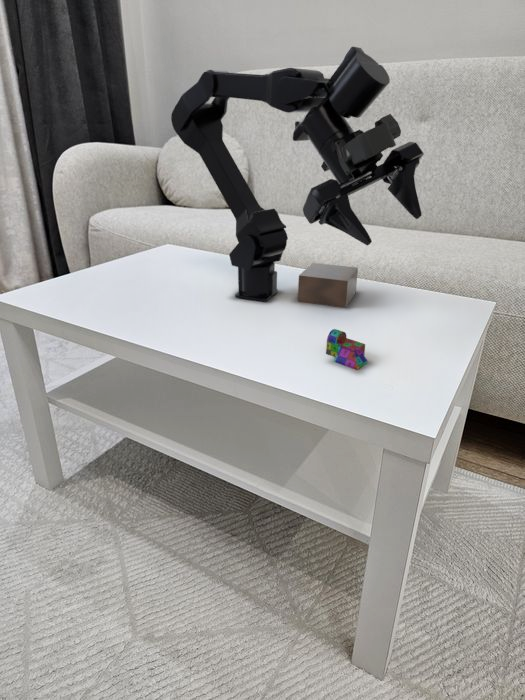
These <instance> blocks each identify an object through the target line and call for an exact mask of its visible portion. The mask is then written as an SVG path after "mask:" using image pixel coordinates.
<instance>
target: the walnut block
mask: <svg viewBox="0 0 525 700" xmlns="http://www.w3.org/2000/svg"><path fill="white" fill-rule="evenodd" d="M358 271H359V267H358V266H357V267H356V266H347V265H337V264H328V263H319V262H312V263H310V264H309V266H307V267H306V268H305V269H304V270H303V271H302V272H301V273H300V274H299V275H298V285H297V287H298V289H297V302H300V303H307V304H308V303H309V304H315V305H323V306H330V307H337V308H345V309H346V308H347V306H348V305H349V303H350V301H351V300H352V298H353V297H354V296H355V294H356V293H357V282H358Z"/></svg>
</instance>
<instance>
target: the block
mask: <svg viewBox="0 0 525 700" xmlns="http://www.w3.org/2000/svg"><path fill="white" fill-rule="evenodd" d="M325 346H326V347H325V355H328V356H331V357H334V361H333V362H334V363H337V364H340V365H342V366H344V367H347V368H351V369H353V370H356V371H358V370H359V369H361V368H363V367H364V366H366V365H367V364H368V362H369V361H368V359H367V358H366V356H365V351H366V344H365V343H363V342H360V341H357V340H354V339H350V338H348V337H347V333H346V331H343V330H339V329H337V328H333V329H331V330H330V331H329V333H328V335H327V338H326V345H325Z"/></svg>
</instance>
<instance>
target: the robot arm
mask: <svg viewBox="0 0 525 700" xmlns="http://www.w3.org/2000/svg"><path fill="white" fill-rule="evenodd" d="M390 81H391V79H390V76H389V74H388V72H387V69H385V67H384V66H383V64H379V63H378V62H377V61H376V59H374V58H373V57H371V56H370V55H369V54H367V53H365V52H364V50H363V49H362V47H358V46H350V48H349V50H348V51H347V53H345V56H344V58H343V60H342V61H341V63H340V64H339V66H338V67H337V68H336V70H335V71H334V72H333V73H332V75H331V76H330V77H329V78H326V77H325V76H324V73H323V72H321V71H320V70H318V69H317V70H316V69H307V68H297V67H285V68H280V69H275V70H272V71H271V72H269V73H265V74H253V73H239V72H238V73H237V72H229V71H227V70H220V69H219V70H217V69H207V70H205V71H204V72H203V73H202V74H201V75H200V77H199V79H198V80H197V82H195V83H194V84H193V86H191V87H190V88H188V90H186V91H185V92H184V93H182V95H181V96H180V98H179V99H178V101H177V103H176V104H175V106H174V108H173V110H172V112H171V114H170V115H171V116H170V119H171V120H170V121H171V125H172V129H173V130H174V132H175V133H176V135H177V136H178V137H179V139H180V140H181V141H182V143H183V144H184V145H186V146H187V147H188V148H189V149H191V150H193V151H194V152H196V154H198V155H199V156H200V158H201V160H202V162H203V163H204V165H205V167H206V169H207V170H208V172H209V175H210V176H211V177H212V179H213V181H214V184H215V186H216V187H217V189H218V190H219V192H220V193H221V196H222V198H223V199H224V201H225V203H226V204H227V206H228V208H229V209H230V212H231V214H232V215H233V217H234V219H235V238H236V240H237V244H236V246H234V248H233V249H232V250H231V251H230V252H229V255H228V256H229V260H230V264H231V266H233V267H236V268H237V284H238V285H237V287H238V291H237V292H236V293H235V294H234V298H238V299H245V300H253V301H260V302H268V300H270V299H271V298H272V297H273V296H274V295H275V294H276V293H278V272H277V270H275V267H276V266H275V265H276V262H281V260H282V257H283V253H284V251H285V250H286V247H287V243H288V239H289V238H288V237H289V236H288V233H287V231H286V230H285V229H287V225H285V224H284V222H283V221H282V220H281V218H280V215H279V213H278V211H277V210H276V209H275V208H269V209H264V208H263V207H262V206H261V205H260V203H259V202H258V200H257V198H256V197H255V195H254V193H253V191H252V190H251V188H250V186H249V185H248V182H247V181H246V179H245V177H244V176H243V174H242V171H241V170H240V169H239V167H238V164H237V163H236V161H235V160H234V158H233V156H232V154H231V153H230V151H229V149H228V147H227V146H226V143H225V142H224V138H223V137H224V125H223V121H222V120H223V118H224V117H225V116H226V114H227V111H228V102H229V99H231V98H232V99H240V100H249V101H259V102H263V103H265V104H267V105H268V106H269V107H271V108H274V109H276V110H279V111H281V112H283V113H287V114H289V113H290V114H291V113H292V114H293V113H294V114H298V113H299V114H304V113H305V114H306V115H304V117H303V119H302V120H300V121H299V120H296V121H295V122H294V130H293V133H292V141H294V142H303V141H304V142H306V141H309V142H310V143H311V144H312V146H313V148H314V149H315V150H316V152H317V154H318V155H319V156H320V158H321V159H322V164H321V169H322V170H323V172H324V173H325V172H328V171H330V173H331V174H332V176H333V177H334V179H333V178H330V179H328V180H325V181H323V182H321V183H319V184H317V185H315V186H313V187H311V188H310V190H309V193H308V194H307V197H306V199H305V201H304V203H303V206H302V213H303V216H304V217H305V218H306V221H307V222H308V224H311V225H312V224H314V223H317V222H318V224H319V225H321V226H323V225H325V224H326V225H328V226H330V227H331V228H334V229H336V230H339V231H341V232H343V233H345V234H346V235H348V236H350V237H352V238H353V239H355V240H357V241H359V242H360V243H362V244H363V245H365V246H369V245H371V244H372V242H373V241H372V239H371V236H370V235H369V233H368V231H367V229H366V228H365V226H364V225H363V223H362V222H361V220H360V219H359V217H358V216H357V215H356V213H355V212H354V211H353V209H352V207H351V203H350V199H349V196H350V195H353V194H355V193H357V192H359V191H360V190H361V191H362V190H363V189H365V188H367V187H369V186H371V185H372V184H375V183H377V182H379V181H383V183H385V184H389V185H388V187H387V190H388V192H390V194H391V195H392V196H393V197H394V198H395V199H396V200H397V201H398V203H400V205H401V206H402V207H403V208H404V209H405V210H406V212H408V213H409V214H410V215H411V216H412V217H413V218H414V219H415V220H419V219H420V218H421V217H422V210H421V206H420V201H419V197H418V193H417V188H416V182H415V173H416V169H417V168H418V167H419V165H420V161H421V159H422V157H424V155H425V153H424V152H423V150H422V149H421V147H420V146H419V144H418V143H417V142H415V141H409V142H406V143H404V144H402V145H400V146H398V147H396V146H397V143H396V141H395V140H396V139H397V138H399V137H400V136H401V134H402V129H401V127H400V124H399V122H398V121H397V119H396V118H395V117H394V116H393V115H392V114H391V113H389V114H386V115H384V116H382V117H380V119H378V120H376V121H375V122H374V127H372V128H369V129H368V130H366V131H364V130H361V129H358V130H355V131H354V130H353V128H352V126H351V124H350V123H349V122H348V120H347V119H351V118H355V119H360V118H361V117H362V116H363V114H365V113H366V111H367V110H368V109H369V108H370V106H371V105H372V104H373V103H374V102H375V100H376V99H377V98H378V97H379V96H380V95H381V94H382V92H383V91H384V90H385V89H386V87H387V86H388V85H389V84H390ZM211 98H213V100H212V101H211V102H209V101H210V99H211ZM394 147H396V148H394ZM391 148H393V149H391ZM387 149H391V151H390V152H389V153H388V155H387V157H386V158H385V160H384V161H383V163H381V164H379V165H377V163H378V162H380V161H381V160H382V158H383V156H384V154H383V153H382V152H383V151H386V150H387Z"/></svg>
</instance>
